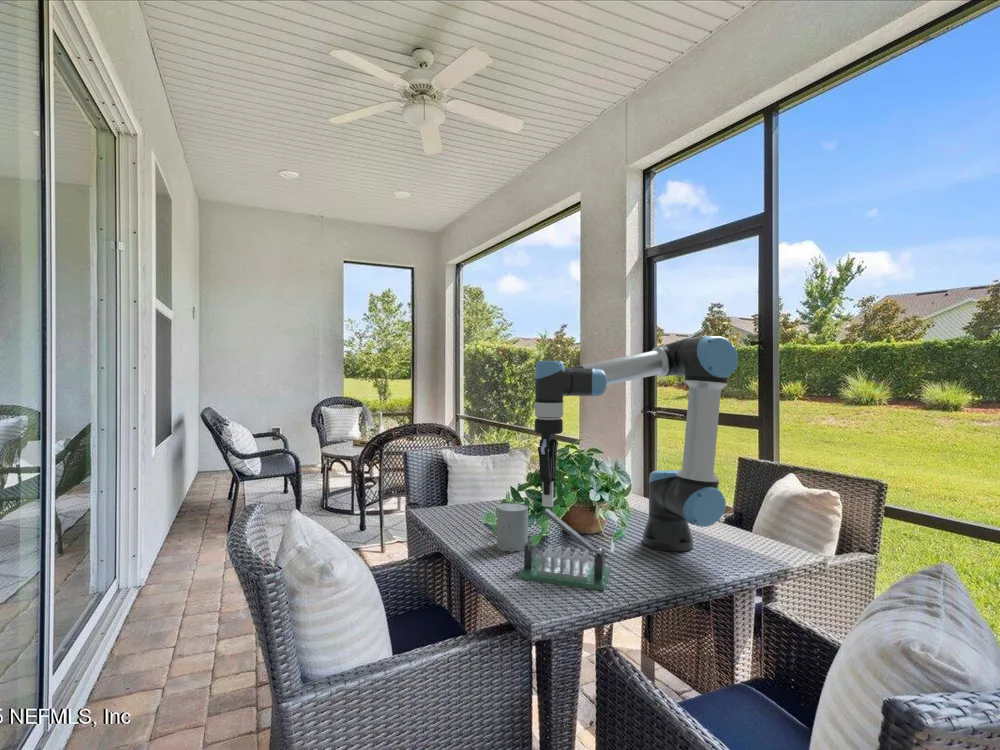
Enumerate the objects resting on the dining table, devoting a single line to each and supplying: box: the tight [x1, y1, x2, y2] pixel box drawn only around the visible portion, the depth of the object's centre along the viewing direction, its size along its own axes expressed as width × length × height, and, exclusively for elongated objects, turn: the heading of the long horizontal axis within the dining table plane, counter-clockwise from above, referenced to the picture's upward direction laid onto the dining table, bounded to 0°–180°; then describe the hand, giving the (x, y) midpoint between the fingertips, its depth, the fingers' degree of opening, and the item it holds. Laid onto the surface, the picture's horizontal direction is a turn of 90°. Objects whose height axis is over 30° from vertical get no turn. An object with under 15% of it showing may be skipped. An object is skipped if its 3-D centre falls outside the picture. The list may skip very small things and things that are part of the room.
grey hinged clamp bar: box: [543, 507, 604, 556], centre depth 137 cm, size 18×3×2 cm
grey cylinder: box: [496, 502, 529, 553], centre depth 160 cm, size 10×10×12 cm
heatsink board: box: [518, 540, 611, 592], centre depth 138 cm, size 22×13×7 cm, turn 71°
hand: (547, 505), depth 139 cm, fingers closed
